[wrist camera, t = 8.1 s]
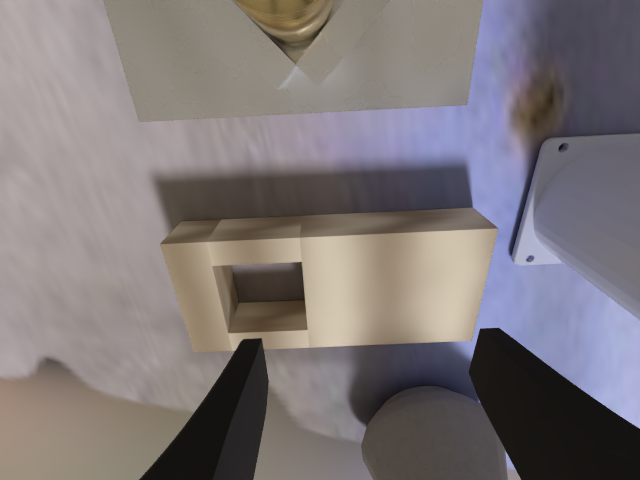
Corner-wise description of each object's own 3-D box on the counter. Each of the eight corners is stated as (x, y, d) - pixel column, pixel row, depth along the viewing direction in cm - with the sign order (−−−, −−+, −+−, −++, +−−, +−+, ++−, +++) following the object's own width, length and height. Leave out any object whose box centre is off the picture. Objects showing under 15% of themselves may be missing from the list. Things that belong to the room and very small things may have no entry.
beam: (473, 207, 19) (498, 228, 17) (453, 310, 23) (472, 340, 20) (181, 221, 20) (159, 244, 17) (208, 320, 23) (194, 352, 21)
